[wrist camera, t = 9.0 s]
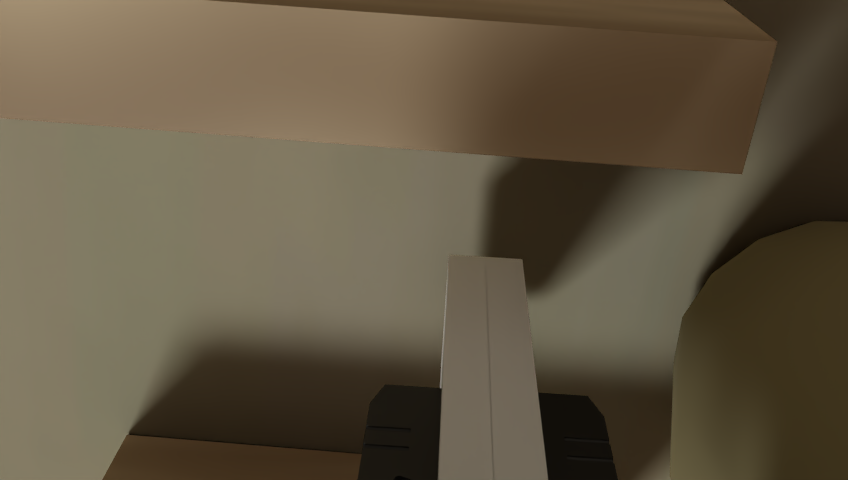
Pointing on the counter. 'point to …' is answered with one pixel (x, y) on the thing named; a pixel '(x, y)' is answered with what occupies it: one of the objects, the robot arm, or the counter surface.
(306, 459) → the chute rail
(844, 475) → the squeeze bottle
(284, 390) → the counter surface
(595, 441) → the robot arm
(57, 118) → the bar
